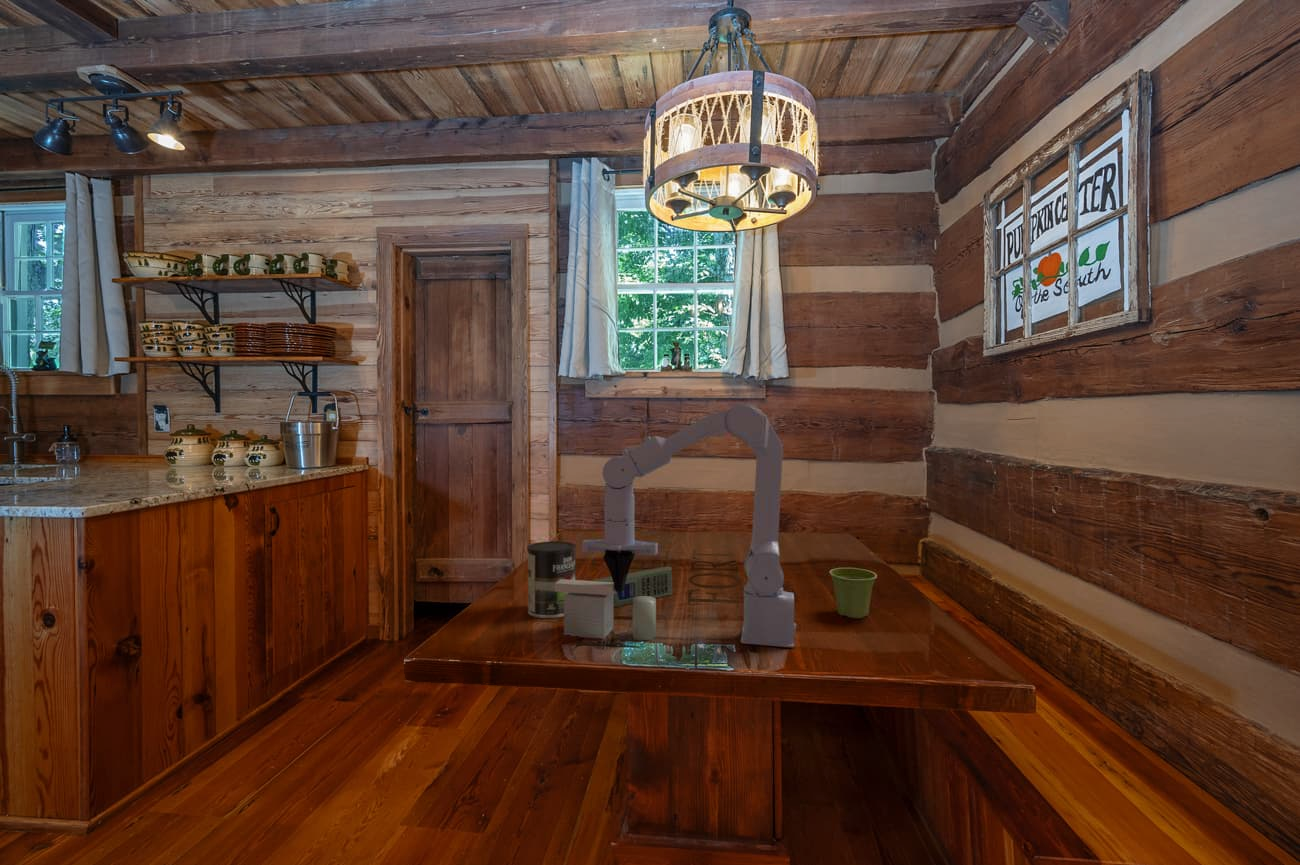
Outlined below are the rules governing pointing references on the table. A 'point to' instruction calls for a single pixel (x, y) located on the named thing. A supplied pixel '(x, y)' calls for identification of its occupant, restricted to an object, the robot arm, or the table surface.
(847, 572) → the plant pot
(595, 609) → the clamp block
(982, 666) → the table surface
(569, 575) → the coffee can
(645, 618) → the plug
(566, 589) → the pale grey rectangular box
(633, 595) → the handheld radio
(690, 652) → the table surface
